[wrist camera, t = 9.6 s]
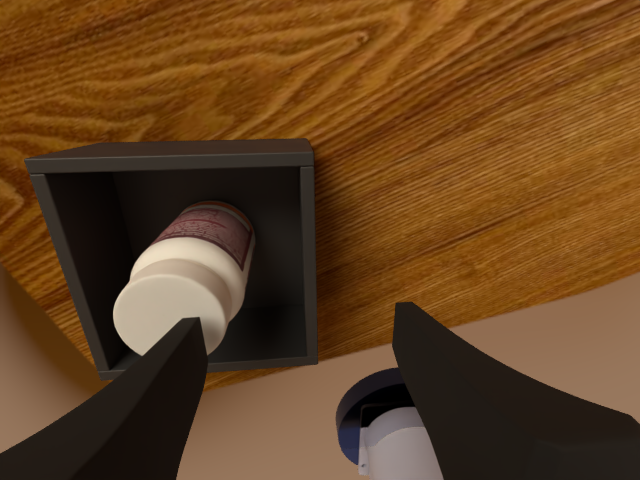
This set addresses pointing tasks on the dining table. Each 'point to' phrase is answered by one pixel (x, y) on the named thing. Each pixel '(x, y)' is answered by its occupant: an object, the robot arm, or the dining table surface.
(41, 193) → the open storage bin
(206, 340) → the pill bottle
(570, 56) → the dining table surface
